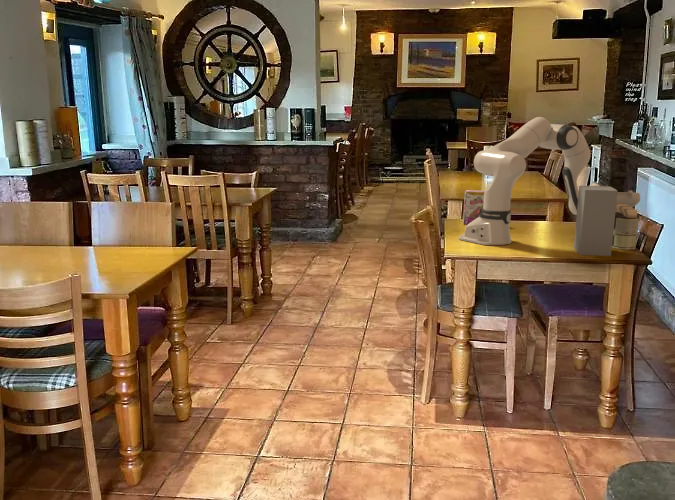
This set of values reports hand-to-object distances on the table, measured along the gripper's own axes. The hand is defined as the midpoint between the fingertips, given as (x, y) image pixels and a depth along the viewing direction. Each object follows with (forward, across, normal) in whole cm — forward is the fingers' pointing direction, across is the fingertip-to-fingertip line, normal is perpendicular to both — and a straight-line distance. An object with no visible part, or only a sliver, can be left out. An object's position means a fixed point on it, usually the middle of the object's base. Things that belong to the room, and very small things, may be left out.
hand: (619, 191), depth 289 cm
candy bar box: (-32, -59, +6) cm, 68 cm away
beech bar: (+8, 0, +13) cm, 16 cm away
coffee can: (+2, 0, +26) cm, 26 cm away
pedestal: (+12, -15, +31) cm, 36 cm away
